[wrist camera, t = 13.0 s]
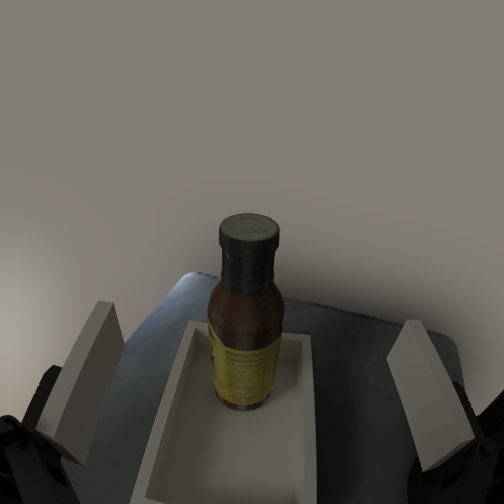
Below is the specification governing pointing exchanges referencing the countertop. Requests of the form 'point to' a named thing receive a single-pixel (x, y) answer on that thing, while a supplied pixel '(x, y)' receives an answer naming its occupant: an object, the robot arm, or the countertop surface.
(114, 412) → the countertop surface
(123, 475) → the countertop surface
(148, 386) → the countertop surface
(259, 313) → the sauce bottle
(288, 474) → the tray
